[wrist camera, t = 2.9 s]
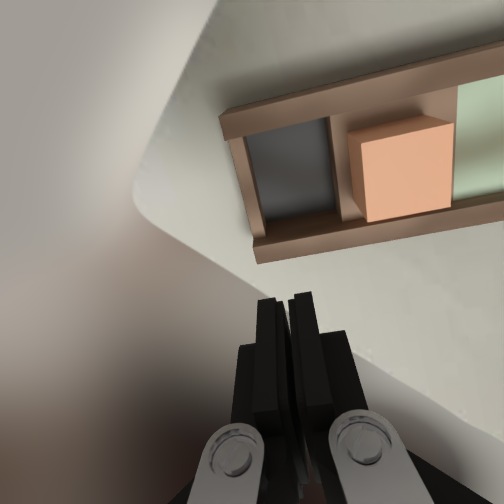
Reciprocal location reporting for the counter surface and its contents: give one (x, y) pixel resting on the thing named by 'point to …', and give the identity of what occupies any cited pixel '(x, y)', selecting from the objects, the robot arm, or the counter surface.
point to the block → (402, 167)
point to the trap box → (338, 161)
